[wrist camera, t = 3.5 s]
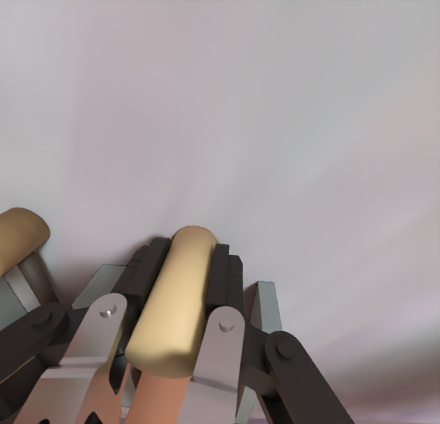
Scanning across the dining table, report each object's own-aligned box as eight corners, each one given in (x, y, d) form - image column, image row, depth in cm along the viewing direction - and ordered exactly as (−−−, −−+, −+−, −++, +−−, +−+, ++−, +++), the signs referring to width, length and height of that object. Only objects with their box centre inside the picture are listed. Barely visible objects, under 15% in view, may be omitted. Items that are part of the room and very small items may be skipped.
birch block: (70, 212, 12) (-60, 311, 7) (122, 357, 20) (82, 450, 15) (-32, 202, 12) (-233, 290, 7) (61, 349, 20) (1, 438, 15)
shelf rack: (274, 283, 13) (282, 330, 11) (245, 381, 20) (246, 424, 18) (-29, 249, 14) (-90, 285, 11) (46, 355, 21) (20, 392, 19)
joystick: (251, 231, 11) (260, 353, 6) (226, 371, 20) (221, 471, 15) (141, 220, 12) (62, 328, 6) (163, 362, 20) (136, 458, 15)
